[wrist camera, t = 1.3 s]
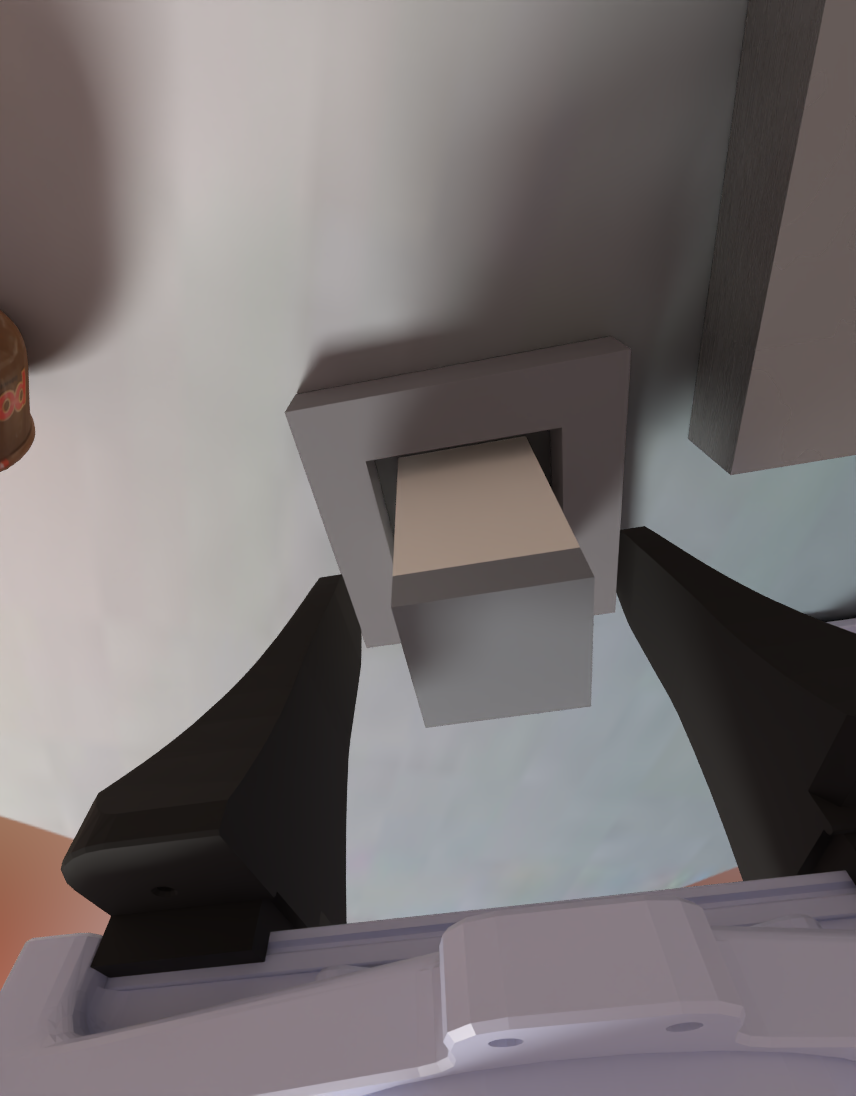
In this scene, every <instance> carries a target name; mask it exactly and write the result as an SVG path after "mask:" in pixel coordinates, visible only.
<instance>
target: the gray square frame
mask: <svg viewBox="0 0 856 1096" xmlns="http://www.w3.org/2000/svg"><path fill="white" fill-rule="evenodd" d="M630 363H631V349H630V348H629V347H627V346H626V345H624V344H623V343H621V342H620V341H618V340H617V339H615V338H614V337H612V336H609V337H603V338H598V339H593V340H587V341H582V342H576V343H571V344H566V345H560V346H555V347H549V348H544V349H539V350H533V351H528V352H522V353H517V354H511V355H506V356H501V357H495V358H490V359H484V360H479V361H474V362H468V363H463V364H457V365H452V366H447V367H441V368H436V369H430V370H425V371H420V372H414V373H409V374H403V375H398V376H393V377H387V378H382V379H376V380H371V381H366V382H360V383H355V384H349V385H344V386H338V387H333V388H328V389H322V390H317V391H311V392H306V393H301V394H296V395H295V396H294V398H293V400H292V401H291V403H290V405H289V406H288V408H287V410H286V411H285V414H286V417H287V420H288V423H289V426H290V429H291V432H292V435H293V437H294V440H295V443H296V446H297V449H298V452H299V455H300V458H301V460H302V463H303V466H304V469H305V472H306V475H307V478H308V481H309V483H310V486H311V489H312V492H313V495H314V498H315V501H316V503H317V506H318V509H319V512H320V515H321V518H322V521H323V524H324V526H325V529H326V532H327V535H328V538H329V541H330V544H331V547H332V549H333V552H334V555H335V558H336V561H337V564H338V567H339V570H340V572H341V574H342V575H343V578H344V581H345V584H346V587H347V590H348V593H349V596H350V598H351V601H352V604H353V607H354V610H355V613H356V616H357V619H358V621H359V624H360V627H361V633H362V636H363V639H364V641H365V644H366V647H367V648H370V647H377V646H384V645H391V644H398V643H401V640H400V637H399V634H398V630H397V627H396V623H395V620H394V616H393V613H392V609H391V597H392V576H393V556H394V535H393V531H392V527H391V524H390V520H389V516H388V512H387V508H386V504H385V500H384V496H383V492H382V488H381V484H380V480H379V477H378V473H377V469H376V465H375V461H374V460H376V459H382V458H388V457H393V456H399V455H405V454H411V453H417V452H422V451H428V450H434V449H440V448H446V447H451V446H457V445H463V444H469V443H475V442H480V441H486V440H492V439H498V438H503V437H509V436H515V435H521V434H527V433H532V432H538V431H544V430H550V442H551V474H552V491H553V493H554V495H555V497H556V499H557V501H558V503H559V505H560V507H561V509H562V511H563V513H564V516H565V518H566V520H567V522H568V524H569V526H570V528H571V530H572V532H573V534H574V536H575V538H576V540H577V542H578V544H579V546H580V548H581V550H582V552H583V554H584V556H585V558H586V560H587V562H588V564H589V566H590V569H591V571H592V573H593V575H594V577H595V584H594V615H599V614H606V613H613V612H615V604H616V584H617V568H618V553H619V537H620V524H621V508H622V491H623V475H624V459H625V443H626V427H627V411H628V395H629V379H630Z"/></svg>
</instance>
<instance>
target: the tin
mask: <svg viewBox="0 0 856 1096" xmlns="http://www.w3.org/2000/svg"><path fill="white" fill-rule="evenodd" d="M34 438H35V426H34V421H33V418H32V416H31V414H30V405H29V375H28V360H27V351H26V347H25V343H24V340H23V338H22V335H21V333H20V331H19V330H18V328H17V326H16V325H15V324H14V323H13V322H12V320H11V319H10V318H9V317H8V316H6V315H5V314H4V313H3V312H2V311H1V310H0V472H1V471H3V470H6V469H8V468H9V467H10V466H12V465H14V464H15V463H16V462H17V461H19V460H20V459H21V458H22V457H23V456H24V455H25V454H26V452H27V451H28V450H29V448H30V447H31V445H32V443H33V441H34Z"/></svg>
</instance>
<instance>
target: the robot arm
mask: <svg viewBox="0 0 856 1096" xmlns="http://www.w3.org/2000/svg"><path fill="white" fill-rule="evenodd" d="M616 593H617V596H618V598H619V601H620V603H621V606H622V609H623V611H624V614H625V616H626V619H627V621H628V624H629V626H630V628H631V630H632V631H633V633H634V635H635V637H636V639H637V640H638V642H639V644H640V646H641V648H642V649H643V651H644V653H645V655H646V657H647V658H648V660H649V662H650V664H651V665H652V667H653V669H654V671H655V672H656V674H657V676H658V678H659V679H660V681H661V683H662V685H663V687H664V688H665V690H666V692H667V694H668V695H669V697H670V699H671V701H672V703H673V705H674V707H675V709H676V711H677V713H678V715H679V717H680V720H681V722H682V724H683V727H684V729H685V731H686V733H687V736H688V738H689V740H690V743H691V745H692V747H693V750H694V752H695V755H696V757H697V760H698V762H699V764H700V767H701V769H702V772H703V774H704V777H705V779H706V782H707V784H708V787H709V789H710V792H711V794H712V797H713V800H714V802H715V805H716V807H717V810H718V813H719V815H720V818H721V821H722V823H723V826H724V829H725V831H726V834H727V837H728V839H729V842H730V845H731V848H732V851H733V854H734V856H735V859H736V862H737V865H738V868H739V871H740V873H741V876H742V879H743V881H742V882H732V883H723V884H714V885H704V886H694V887H685V888H676V889H666V890H657V891H648V892H638V893H629V894H620V895H610V896H601V897H592V898H582V899H573V900H564V901H554V902H545V903H536V904H527V905H517V906H508V907H499V908H489V909H480V910H471V911H461V912H452V913H443V914H433V915H424V916H415V917H405V918H396V919H387V920H377V921H368V922H359V923H349V924H347V922H346V811H347V779H348V756H349V747H350V738H351V731H352V724H353V717H354V711H355V704H356V697H357V690H358V683H359V676H360V668H361V627H360V624H359V621H358V619H357V616H356V613H355V610H354V607H353V604H352V601H351V598H350V596H349V593H348V590H347V587H346V584H345V581H344V578H343V575H342V574H340V575H334V576H328V577H321V578H319V579H318V581H317V582H316V584H315V585H314V586H313V588H312V589H311V590H310V592H309V593H308V595H307V596H306V598H305V599H304V601H303V602H302V603H301V605H300V606H299V608H298V609H297V611H296V612H295V613H294V615H293V616H292V618H291V619H290V620H289V622H288V623H287V624H286V626H285V627H284V628H283V630H282V631H281V632H280V634H279V635H278V636H277V638H276V639H275V640H274V641H273V643H272V644H271V645H270V646H269V648H268V649H267V650H266V651H265V653H264V654H263V655H262V656H261V657H260V659H259V660H258V661H257V662H256V663H255V665H254V666H253V667H252V668H251V669H250V670H249V671H248V672H247V673H246V674H245V676H244V677H243V678H242V679H241V680H240V681H239V682H238V683H237V684H236V685H235V686H234V687H233V688H232V689H231V690H230V691H229V692H228V693H227V694H226V695H225V696H224V697H223V698H222V699H220V700H219V701H218V702H217V703H216V704H215V705H214V706H213V707H212V708H211V709H209V710H208V711H207V712H206V713H205V714H204V715H203V716H202V717H201V718H199V719H198V720H197V721H196V722H195V723H194V724H193V725H191V726H190V727H189V728H188V729H187V730H185V731H184V732H183V733H182V734H180V735H179V736H178V737H177V738H176V739H174V740H173V741H172V742H170V743H169V744H168V745H166V746H165V747H164V748H163V749H161V750H160V751H159V752H157V753H156V754H155V755H153V756H152V757H151V758H149V759H148V760H146V761H145V762H144V763H142V764H141V765H139V766H138V767H136V768H135V769H134V770H132V771H131V772H129V773H128V774H126V775H125V776H123V777H122V778H120V779H119V780H117V781H116V782H115V783H113V784H112V785H110V786H109V787H107V788H106V789H104V790H103V791H101V792H99V793H98V795H97V797H96V799H95V800H94V802H93V804H92V806H91V808H90V810H89V812H88V814H87V816H86V817H85V819H84V821H83V823H82V825H81V827H80V829H79V831H78V833H77V835H76V837H75V838H74V840H73V842H72V844H71V846H70V848H69V850H68V852H67V854H66V856H65V858H64V860H63V862H62V866H61V871H62V873H63V875H64V878H65V880H66V882H67V884H69V885H70V886H71V887H72V888H73V889H74V890H75V891H77V892H78V893H79V894H81V895H82V896H84V897H85V898H86V899H88V900H89V901H91V902H92V903H93V904H95V905H96V906H98V907H99V908H101V909H102V910H103V911H105V912H107V913H108V914H109V915H111V918H110V920H109V923H108V925H107V928H106V930H105V932H104V935H103V936H102V935H98V934H93V933H75V934H66V935H57V936H49V937H40V938H32V939H30V940H28V941H27V942H26V943H25V945H24V947H23V949H22V950H21V952H20V955H19V956H18V958H17V960H16V962H15V964H14V966H13V968H12V970H11V972H10V974H9V976H8V978H7V980H6V981H5V983H4V985H3V987H2V989H1V991H0V1096H856V618H853V619H846V620H839V621H832V622H824V621H821V620H818V619H816V618H813V617H811V616H808V615H806V614H803V613H801V612H799V611H796V610H794V609H792V608H790V607H788V606H785V605H783V604H781V603H779V602H776V601H774V600H772V599H770V598H768V597H765V596H763V595H761V594H759V593H757V592H755V591H753V590H751V589H750V588H748V587H746V586H744V585H742V584H740V583H738V582H736V581H734V580H733V579H731V578H729V577H727V576H725V575H724V574H722V573H720V572H718V571H716V570H715V569H713V568H711V567H710V566H708V565H706V564H705V563H703V562H701V561H700V560H698V559H696V558H695V557H693V556H691V555H690V554H688V553H687V552H685V551H683V550H682V549H680V548H679V547H677V546H676V545H674V544H672V543H671V542H669V541H668V540H666V539H665V538H663V537H661V536H660V535H658V534H657V533H655V532H653V531H652V530H650V529H648V528H647V527H645V526H643V527H637V528H630V529H624V530H620V537H619V553H618V568H617V584H616Z"/></svg>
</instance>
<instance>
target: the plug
mask: <svg viewBox="0 0 856 1096" xmlns="http://www.w3.org/2000/svg"><path fill="white" fill-rule="evenodd" d="M594 584H595V577H594V575H593V573H592V571H591V569H590V566H589V564H588V562H587V560H586V558H585V556H584V554H583V552H582V550H581V548H580V546H579V544H578V542H577V540H576V538H575V536H574V534H573V532H572V530H571V528H570V526H569V524H568V522H567V520H566V518H565V516H564V513H563V511H562V509H561V507H560V505H559V503H558V501H557V499H556V497H555V495H554V493H553V491H552V489H551V487H550V485H549V483H548V481H547V479H546V477H545V475H544V473H543V471H542V469H541V467H540V465H539V462H538V460H537V458H536V456H535V454H534V452H533V450H532V448H531V446H530V444H529V442H528V440H527V438H526V436H522V437H517V438H511V439H505V440H499V441H493V442H487V443H482V444H476V445H470V446H464V447H458V448H452V449H447V450H441V451H435V452H429V453H423V454H417V455H412V456H406V457H400V458H398V475H397V495H396V515H395V536H394V556H393V576H392V597H391V609H392V613H393V616H394V620H395V623H396V627H397V630H398V634H399V637H400V640H401V644H402V647H403V651H404V654H405V658H406V661H407V665H408V668H409V672H410V675H411V679H412V682H413V686H414V689H415V693H416V696H417V699H418V703H419V706H420V710H421V713H422V717H423V720H424V724H425V727H426V728H428V727H436V726H443V725H451V724H459V723H466V722H474V721H482V720H490V719H497V718H505V717H513V716H520V715H528V714H536V713H544V712H551V711H559V710H567V709H574V708H582V707H590V706H591V684H592V651H593V617H594Z"/></svg>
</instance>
